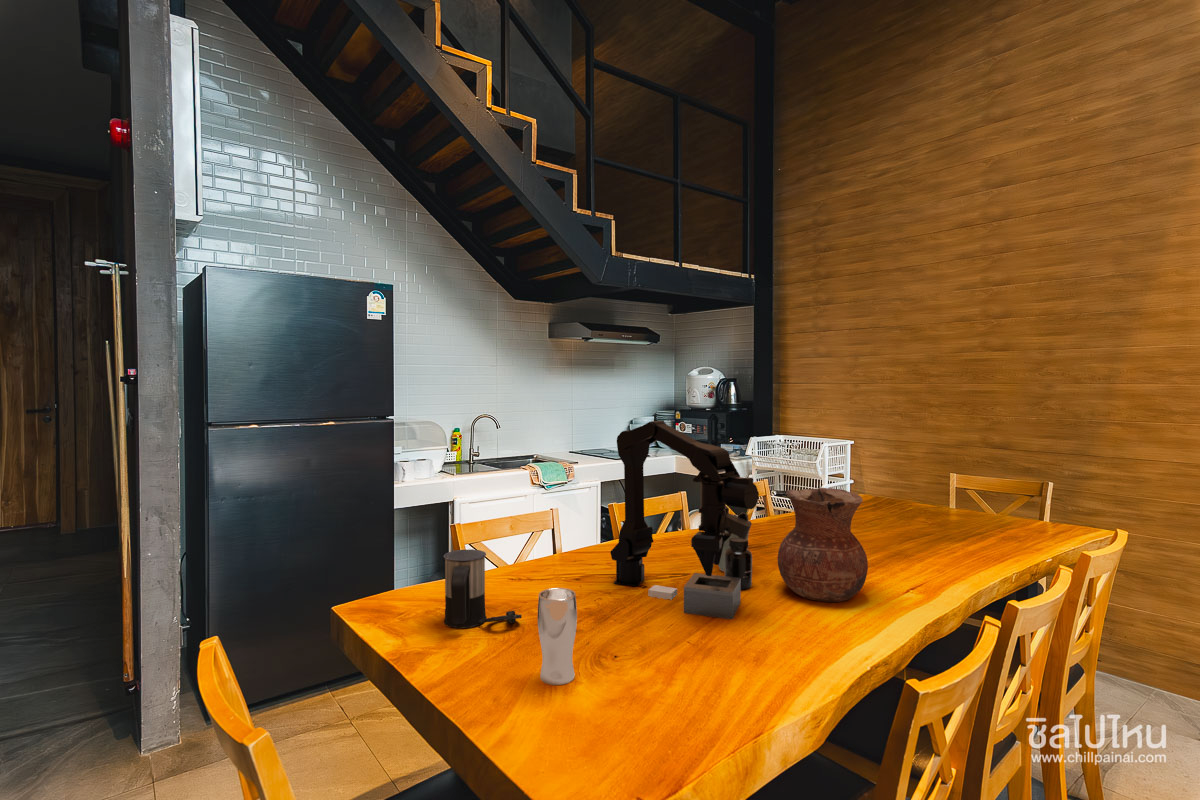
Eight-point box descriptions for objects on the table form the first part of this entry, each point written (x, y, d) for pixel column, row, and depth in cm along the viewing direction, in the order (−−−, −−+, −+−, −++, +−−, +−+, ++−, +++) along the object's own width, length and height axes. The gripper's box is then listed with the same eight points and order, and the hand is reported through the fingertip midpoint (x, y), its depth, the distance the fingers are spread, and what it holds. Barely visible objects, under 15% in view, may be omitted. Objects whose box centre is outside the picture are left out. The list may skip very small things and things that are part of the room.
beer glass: (538, 669, 116) (537, 587, 116) (576, 667, 117) (575, 586, 116) (537, 687, 109) (537, 601, 109) (578, 685, 110) (577, 599, 109)
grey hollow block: (683, 612, 144) (683, 586, 144) (694, 597, 154) (694, 572, 154) (732, 619, 140) (732, 592, 140) (740, 603, 150) (740, 578, 150)
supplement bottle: (752, 591, 159) (752, 543, 158) (724, 589, 160) (724, 542, 160) (751, 582, 166) (751, 536, 165) (724, 581, 167) (724, 535, 166)
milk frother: (441, 616, 142) (440, 550, 142) (511, 607, 148) (510, 544, 147) (449, 640, 129) (448, 568, 128) (525, 630, 134) (525, 560, 134)
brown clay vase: (876, 612, 145) (877, 502, 144) (780, 605, 149) (781, 499, 148) (857, 581, 166) (858, 486, 165) (774, 576, 170) (775, 484, 170)
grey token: (648, 597, 155) (648, 589, 155) (654, 592, 159) (654, 585, 159) (671, 601, 152) (671, 593, 152) (677, 596, 156) (677, 588, 156)
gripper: (742, 513, 135) (742, 586, 135) (754, 498, 152) (754, 562, 153) (690, 509, 139) (690, 580, 139) (708, 495, 156) (707, 558, 157)
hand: (712, 570), depth 147 cm, fingers open, 9 cm apart
